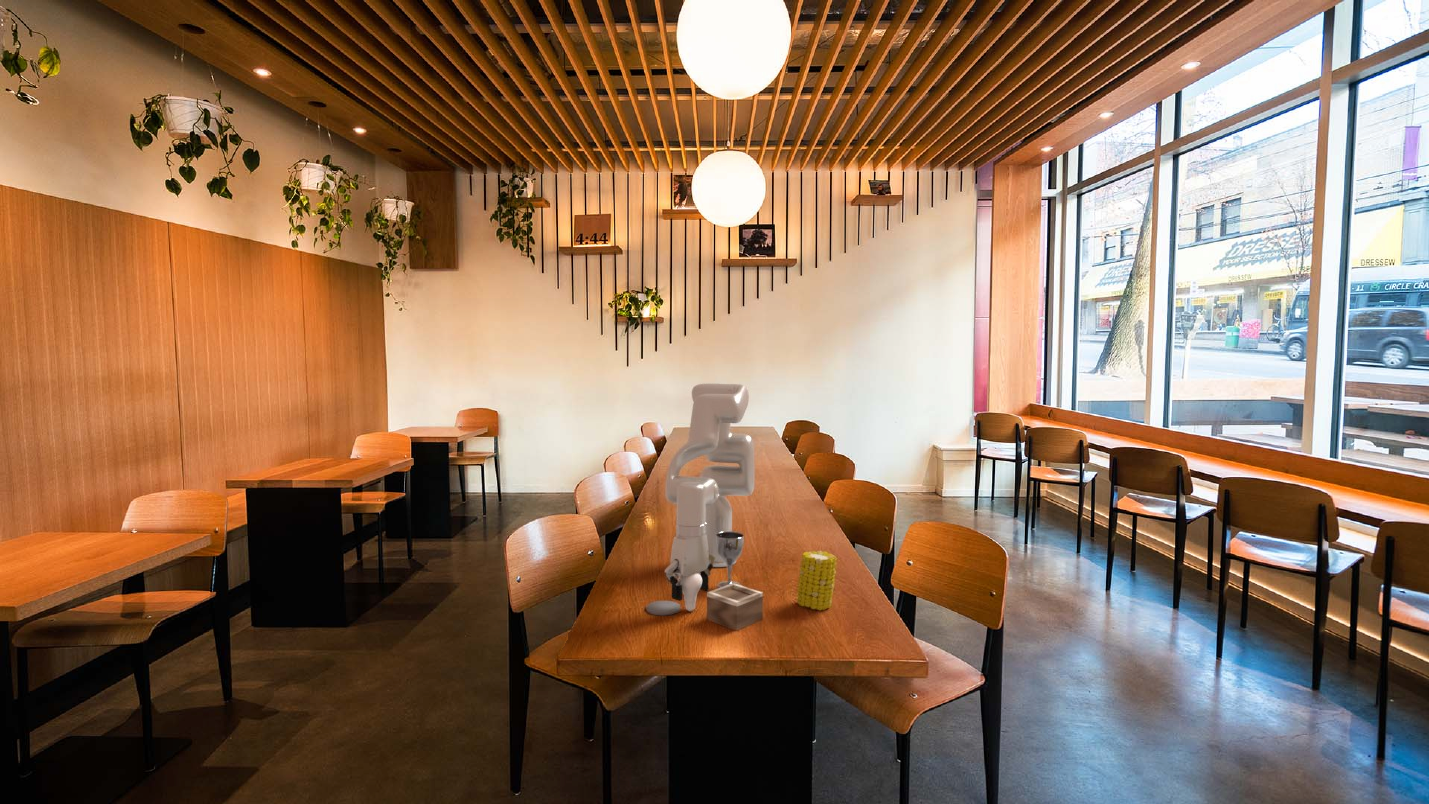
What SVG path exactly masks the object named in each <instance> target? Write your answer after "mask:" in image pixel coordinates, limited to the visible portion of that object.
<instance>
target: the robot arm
mask: <svg viewBox="0 0 1429 804" xmlns="http://www.w3.org/2000/svg"><path fill="white" fill-rule="evenodd" d="M749 396H750V395H749V390H748V389H747V387H746V386H745V385H744V384H740V383H739V384H738V383H737V384H736V383H699V384H696V385H694V386H693V388H692V390H691V399H692V401H693V404H692V408H691V409H692V411H691V417H690V423H689V425H690V426H689V432H688V439H687V441H686V443H684V445H682V446H681V447H679V449H678V450H676V452H675V453H674V455H673V456H672V458H671V460H670V461H669V464H668V467H667V473H666V480H665V489H664V493H665V498H666V500H667V502H669V503H671V504H675V505H676V527H675V528H676V535H674V536H673V541H672V547H671V552H670V553H671V554H670V564H669V565H668V566H667V567H666V568H665V569H664V573H665V576H666V579H667V581H668V582H669V583H670V584H671V598H672V599H673V600H676V601H678V602H680V601H682V600H683V592H682V585H680V584H681V582H682V580H683V578H684V577H686V576H689V575H692V574H695V573H699V574H700V575H701V577H702V585H701V588H700V589H699V591H703V592H709V577H710V576H711V571H712V569H713V568H725V567H726V568H727V565H726V563H725V561H724V560H723V559H722V558H721V557H720V555H719V553H718V550H717V544H716V534H717V533H719V532H725V531H733V509H732V508H733V507H732V505H731V503H730V502H729V500H728V499H727V497H728V496H734V497H735V496H736V497H748V496H751V495H752V493H753V492H754V490H755V483H756V482H755V481H756V479H755V477H756V476H755V474H756V473H755V468H756V467H755V466H756V465H755V444H754V440H753V438H752V437H751V436H750V435H749V434H747V433H734V432H731V424H739V423H741V421H742V419H743V418H744V416H745V413H746V410H747V408H748V405H749V398H750V397H749ZM702 456H704V457H705V459H706V460H707V461H709V462H712V463H718V464H712V465H708V466H705V467H704V468H703V469H702V470H701V473H700V476H688V475H687V476H685V475H682V476H681V475H680V472H681V470H682V469H683V467H684V466H685V465H687V464H688V463H689V462H691V461H693V460H696V459H697V458H700V457H702ZM719 463H721V465H720V464H719ZM724 463H725V464H738V465H725V464H724ZM723 464H724V465H723ZM726 496H727V497H726ZM736 563H737V560H736V561H735V562H734V563H733V565H735V564H736Z"/></svg>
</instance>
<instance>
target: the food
mask: <svg viewBox="0 0 1429 804" xmlns="http://www.w3.org/2000/svg"><path fill="white" fill-rule="evenodd" d="M800 560H801V562H800V564H801V565H799V567H800V570H799V574H798V583H797V584H798V587H797V595H796V597H797V599H796V602H797V604H798V605H799V606H801V607H806V608H810V609H812V610H818V611H822V610H823V611H825V610H826V609H830V607H831V606H832V603H833V595H834V587H835V581H836V579H835V578H836V574H837V571H836V570H837V564H838V563H837V561H838V558H837V557H836V556H835V555H834V554H832V553H829V552H828V551H825V550H824V551H822V550H817V551H815V550H811V551H805V552H802V554H801V559H800Z"/></svg>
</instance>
